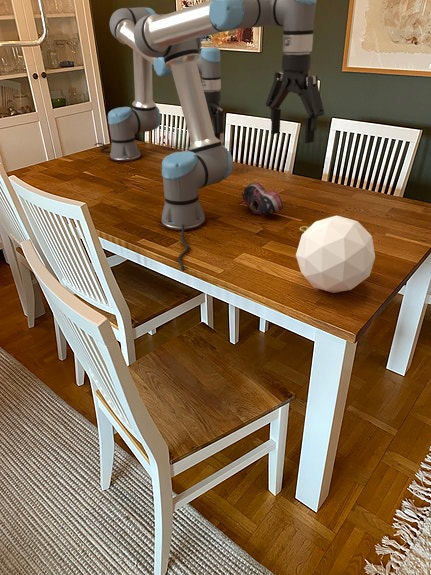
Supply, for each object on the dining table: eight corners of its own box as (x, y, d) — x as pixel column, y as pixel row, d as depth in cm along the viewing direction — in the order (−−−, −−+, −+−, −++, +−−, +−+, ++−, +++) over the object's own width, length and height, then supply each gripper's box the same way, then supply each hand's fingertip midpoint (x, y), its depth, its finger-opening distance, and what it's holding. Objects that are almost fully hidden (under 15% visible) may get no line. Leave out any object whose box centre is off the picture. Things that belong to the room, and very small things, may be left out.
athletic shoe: (254, 181, 170) (227, 189, 167) (283, 176, 151) (253, 185, 147) (260, 210, 173) (234, 218, 170) (290, 209, 154) (261, 219, 150)
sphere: (340, 316, 118) (361, 291, 99) (278, 276, 122) (286, 245, 104) (376, 263, 123) (402, 229, 104) (314, 226, 127) (328, 187, 109)
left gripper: (191, 89, 185) (194, 145, 197) (217, 94, 172) (218, 154, 185) (206, 86, 188) (208, 142, 201) (232, 92, 176) (232, 151, 189)
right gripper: (254, 51, 121) (253, 131, 132) (323, 57, 103) (314, 149, 115) (275, 49, 124) (272, 127, 136) (344, 55, 107) (334, 144, 118)
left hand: (213, 148), depth 193 cm, fingers closed on ink box, 5 cm apart
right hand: (291, 137), depth 125 cm, fingers open, 13 cm apart
